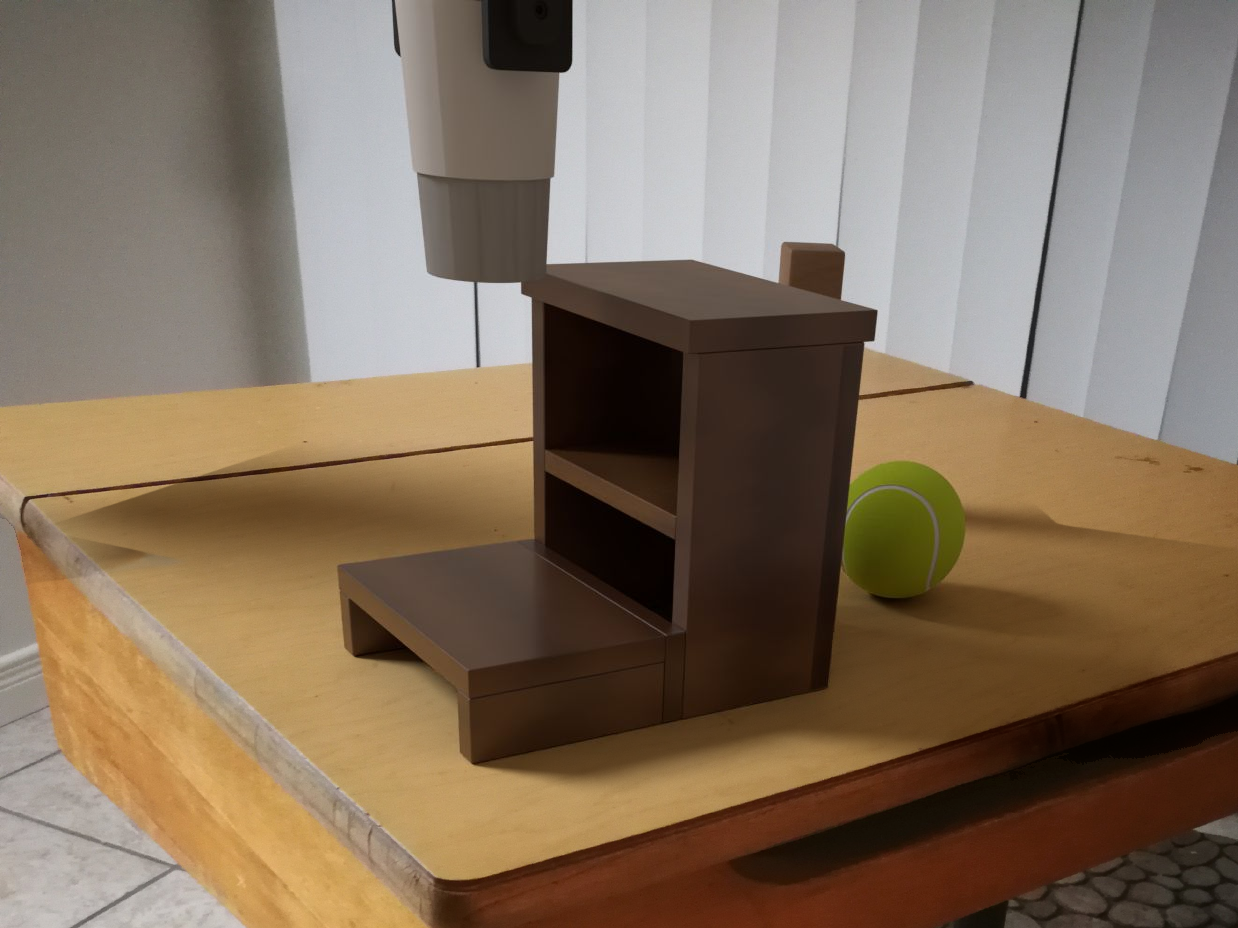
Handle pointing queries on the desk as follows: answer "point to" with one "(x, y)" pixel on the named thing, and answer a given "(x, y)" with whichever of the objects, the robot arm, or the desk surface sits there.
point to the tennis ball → (901, 529)
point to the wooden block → (812, 267)
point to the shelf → (647, 513)
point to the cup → (476, 147)
